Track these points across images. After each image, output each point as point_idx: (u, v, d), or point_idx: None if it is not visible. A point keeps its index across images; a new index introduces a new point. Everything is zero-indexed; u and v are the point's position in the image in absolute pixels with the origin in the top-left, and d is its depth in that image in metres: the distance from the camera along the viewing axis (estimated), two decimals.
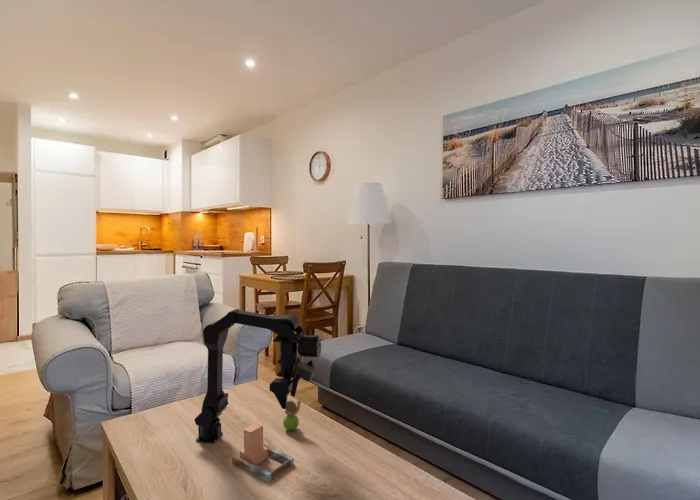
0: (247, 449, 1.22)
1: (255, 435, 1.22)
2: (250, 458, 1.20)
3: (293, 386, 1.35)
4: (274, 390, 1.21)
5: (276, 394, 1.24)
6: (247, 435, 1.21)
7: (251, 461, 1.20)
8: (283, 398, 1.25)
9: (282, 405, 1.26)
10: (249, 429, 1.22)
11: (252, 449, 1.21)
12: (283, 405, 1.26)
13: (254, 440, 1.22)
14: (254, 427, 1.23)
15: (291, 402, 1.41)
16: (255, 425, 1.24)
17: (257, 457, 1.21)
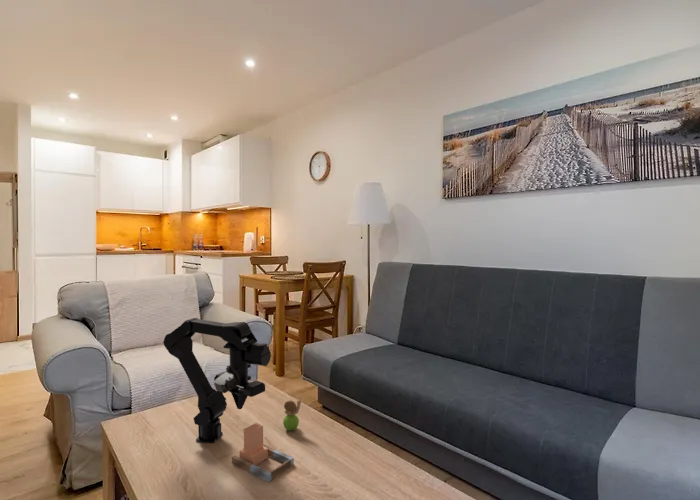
0: (247, 449, 1.22)
1: (255, 435, 1.22)
2: (250, 458, 1.20)
3: None
4: None
5: None
6: (247, 435, 1.21)
7: (251, 461, 1.20)
8: None
9: None
10: (249, 429, 1.22)
11: (252, 449, 1.21)
12: None
13: (254, 440, 1.22)
14: (254, 427, 1.23)
15: (291, 402, 1.41)
16: (255, 425, 1.24)
17: (257, 457, 1.21)
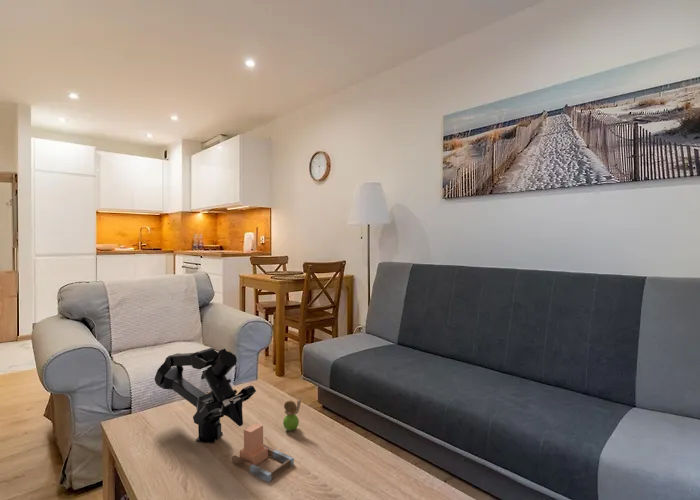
0: (247, 449, 1.22)
1: (255, 435, 1.22)
2: (250, 458, 1.20)
3: None
4: None
5: None
6: (247, 435, 1.21)
7: (251, 461, 1.20)
8: None
9: None
10: (249, 429, 1.22)
11: (252, 449, 1.21)
12: None
13: (254, 440, 1.22)
14: (254, 427, 1.23)
15: (291, 402, 1.41)
16: (255, 425, 1.24)
17: (257, 457, 1.21)
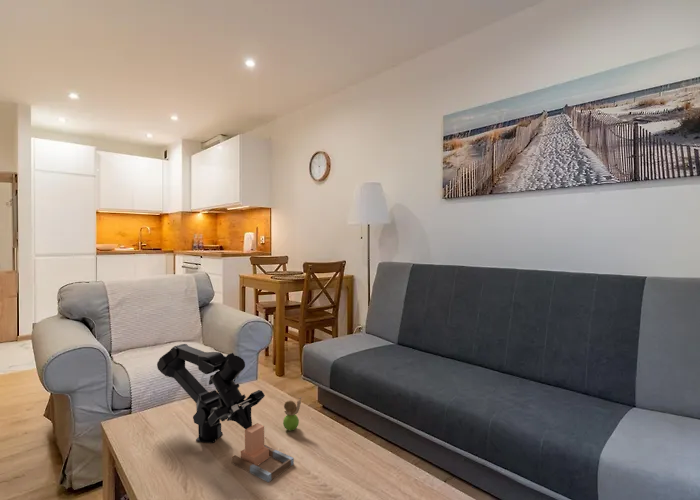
0: (248, 450, 1.21)
1: (256, 436, 1.22)
2: (251, 458, 1.20)
3: None
4: None
5: None
6: (248, 436, 1.21)
7: (252, 462, 1.20)
8: None
9: None
10: (250, 429, 1.22)
11: (253, 450, 1.21)
12: None
13: (255, 440, 1.22)
14: (255, 428, 1.23)
15: (291, 402, 1.41)
16: (256, 425, 1.24)
17: (258, 458, 1.21)
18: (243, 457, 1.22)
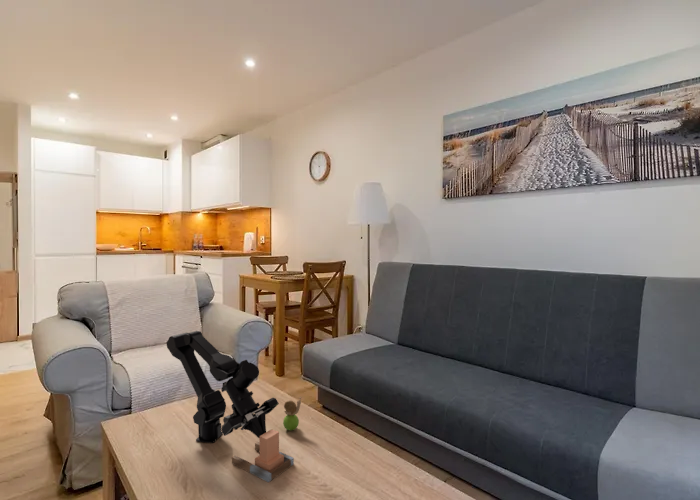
0: (263, 457, 1.18)
1: (271, 443, 1.18)
2: (266, 466, 1.16)
3: None
4: None
5: None
6: (263, 443, 1.17)
7: (267, 469, 1.16)
8: None
9: None
10: (265, 436, 1.18)
11: (268, 457, 1.18)
12: None
13: (270, 447, 1.18)
14: (270, 434, 1.19)
15: (291, 402, 1.41)
16: (271, 432, 1.21)
17: (273, 465, 1.17)
18: (258, 464, 1.18)
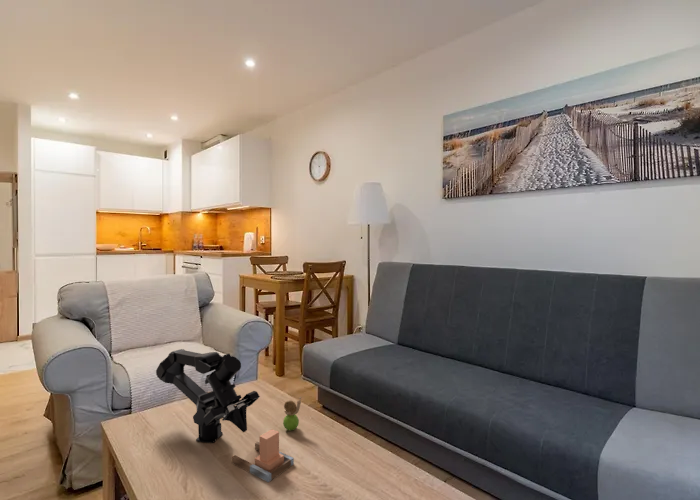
0: (263, 457, 1.18)
1: (271, 443, 1.18)
2: (266, 466, 1.16)
3: None
4: None
5: None
6: (263, 443, 1.17)
7: (267, 469, 1.16)
8: None
9: None
10: (265, 436, 1.18)
11: (268, 457, 1.18)
12: None
13: (270, 447, 1.18)
14: (270, 434, 1.19)
15: (291, 402, 1.41)
16: (271, 432, 1.21)
17: (273, 465, 1.17)
18: (258, 464, 1.18)
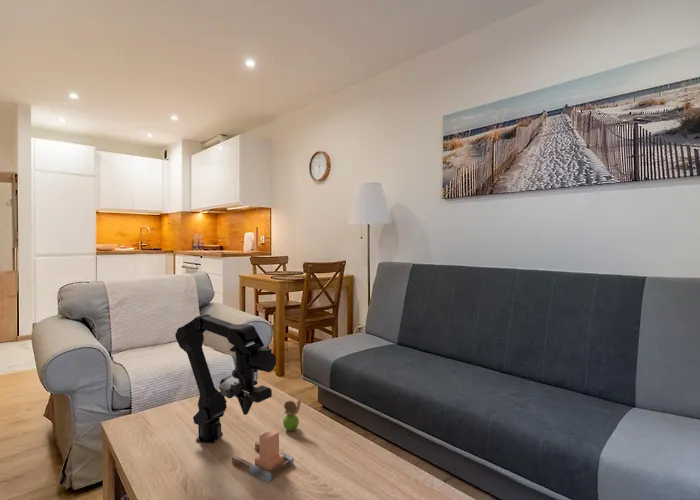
0: (263, 457, 1.18)
1: (271, 443, 1.18)
2: (266, 466, 1.16)
3: None
4: None
5: None
6: (263, 443, 1.17)
7: (267, 469, 1.16)
8: None
9: None
10: (265, 436, 1.18)
11: (268, 457, 1.18)
12: None
13: (270, 447, 1.18)
14: (270, 434, 1.19)
15: (291, 402, 1.41)
16: (271, 432, 1.21)
17: (273, 465, 1.17)
18: (258, 464, 1.18)
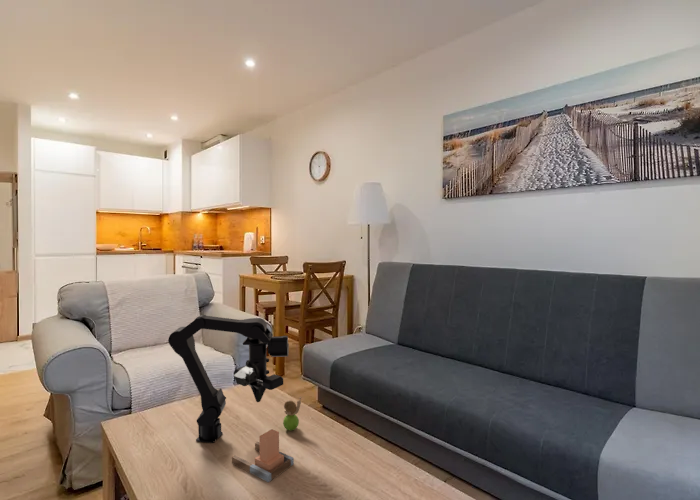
0: (263, 457, 1.18)
1: (271, 443, 1.18)
2: (266, 466, 1.16)
3: None
4: None
5: None
6: (263, 443, 1.17)
7: (267, 469, 1.16)
8: None
9: None
10: (265, 436, 1.18)
11: (268, 457, 1.18)
12: None
13: (270, 447, 1.18)
14: (270, 434, 1.19)
15: (291, 402, 1.41)
16: (271, 432, 1.21)
17: (273, 465, 1.17)
18: (258, 464, 1.18)
